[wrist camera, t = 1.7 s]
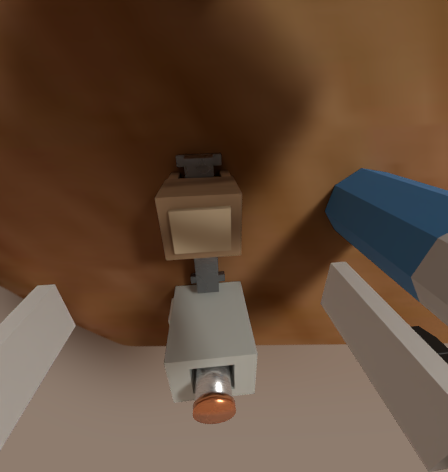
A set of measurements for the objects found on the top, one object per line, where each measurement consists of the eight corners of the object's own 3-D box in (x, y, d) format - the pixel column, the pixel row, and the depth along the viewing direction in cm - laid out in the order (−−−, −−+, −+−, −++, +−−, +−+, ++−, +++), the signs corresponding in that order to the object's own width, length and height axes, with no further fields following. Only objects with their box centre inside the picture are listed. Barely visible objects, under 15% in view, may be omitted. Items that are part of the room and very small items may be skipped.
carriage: (169, 172, 25) (153, 200, 17) (229, 170, 26) (243, 195, 17) (176, 220, 28) (165, 264, 20) (230, 217, 29) (242, 258, 20)
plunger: (192, 347, 27) (190, 404, 21) (229, 344, 27) (235, 399, 22) (196, 369, 29) (194, 426, 23) (229, 365, 29) (235, 421, 24)
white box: (172, 286, 34) (159, 363, 23) (240, 281, 34) (257, 353, 24) (179, 322, 37) (170, 402, 27) (239, 317, 38) (254, 393, 28)
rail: (176, 154, 25) (173, 159, 22) (220, 153, 25) (222, 157, 22) (191, 279, 33) (190, 293, 31) (224, 277, 34) (226, 291, 31)
